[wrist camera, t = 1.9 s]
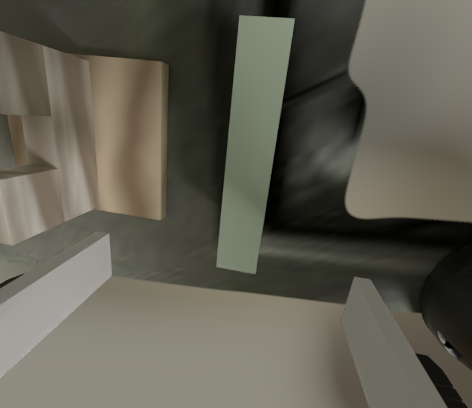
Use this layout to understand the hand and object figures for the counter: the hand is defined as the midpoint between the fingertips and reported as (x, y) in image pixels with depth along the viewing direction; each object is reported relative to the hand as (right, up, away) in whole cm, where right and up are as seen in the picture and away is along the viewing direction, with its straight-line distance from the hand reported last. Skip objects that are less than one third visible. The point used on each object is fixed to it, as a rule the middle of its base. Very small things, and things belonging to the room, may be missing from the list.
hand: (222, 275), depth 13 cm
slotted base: (-16, +11, +15) cm, 24 cm away
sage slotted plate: (+3, +9, +12) cm, 16 cm away
